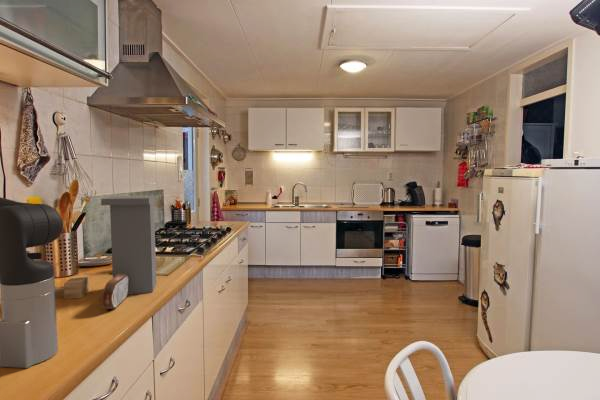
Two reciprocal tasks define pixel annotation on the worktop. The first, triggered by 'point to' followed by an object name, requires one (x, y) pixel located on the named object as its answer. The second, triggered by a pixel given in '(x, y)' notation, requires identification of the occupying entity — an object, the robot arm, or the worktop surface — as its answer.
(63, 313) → the worktop surface
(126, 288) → the tin
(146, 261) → the stand
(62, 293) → the brown wooden block
